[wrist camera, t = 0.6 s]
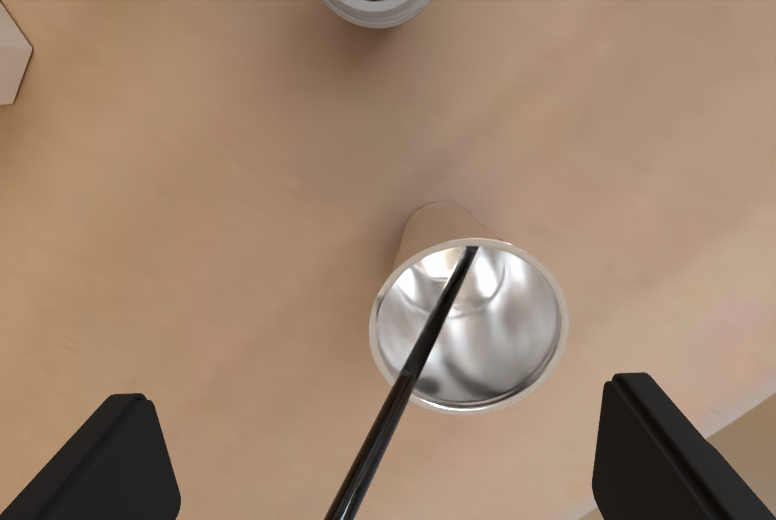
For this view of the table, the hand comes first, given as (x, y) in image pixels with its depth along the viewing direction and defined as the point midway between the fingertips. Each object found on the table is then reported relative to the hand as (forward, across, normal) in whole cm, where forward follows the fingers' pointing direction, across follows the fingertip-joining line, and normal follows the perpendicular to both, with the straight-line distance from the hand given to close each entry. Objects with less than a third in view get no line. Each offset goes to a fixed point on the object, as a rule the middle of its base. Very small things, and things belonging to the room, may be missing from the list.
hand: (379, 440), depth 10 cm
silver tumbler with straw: (+28, -3, +6) cm, 29 cm away
